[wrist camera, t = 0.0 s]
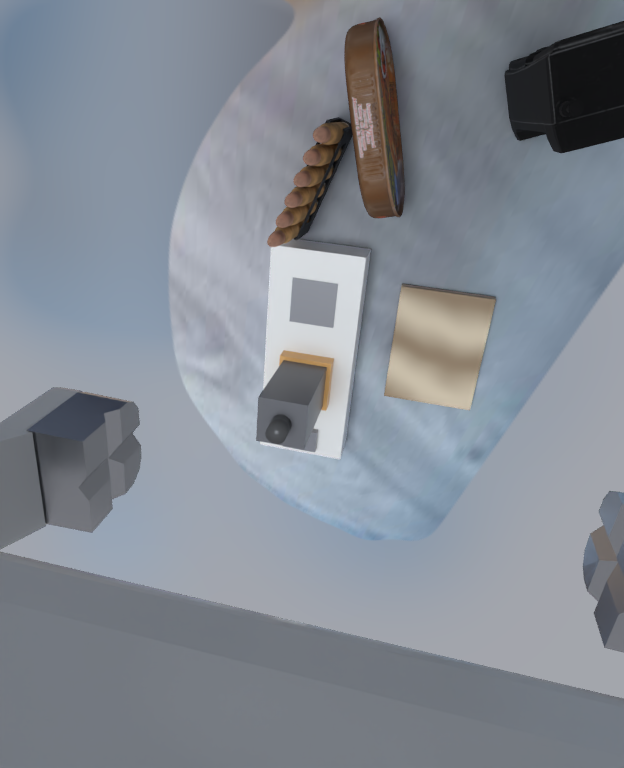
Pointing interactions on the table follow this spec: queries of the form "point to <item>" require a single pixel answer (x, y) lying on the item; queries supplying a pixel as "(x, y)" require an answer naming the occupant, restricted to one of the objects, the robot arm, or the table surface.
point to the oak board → (438, 345)
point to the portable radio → (570, 90)
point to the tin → (375, 118)
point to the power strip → (318, 324)
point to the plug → (294, 399)
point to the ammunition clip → (312, 181)
